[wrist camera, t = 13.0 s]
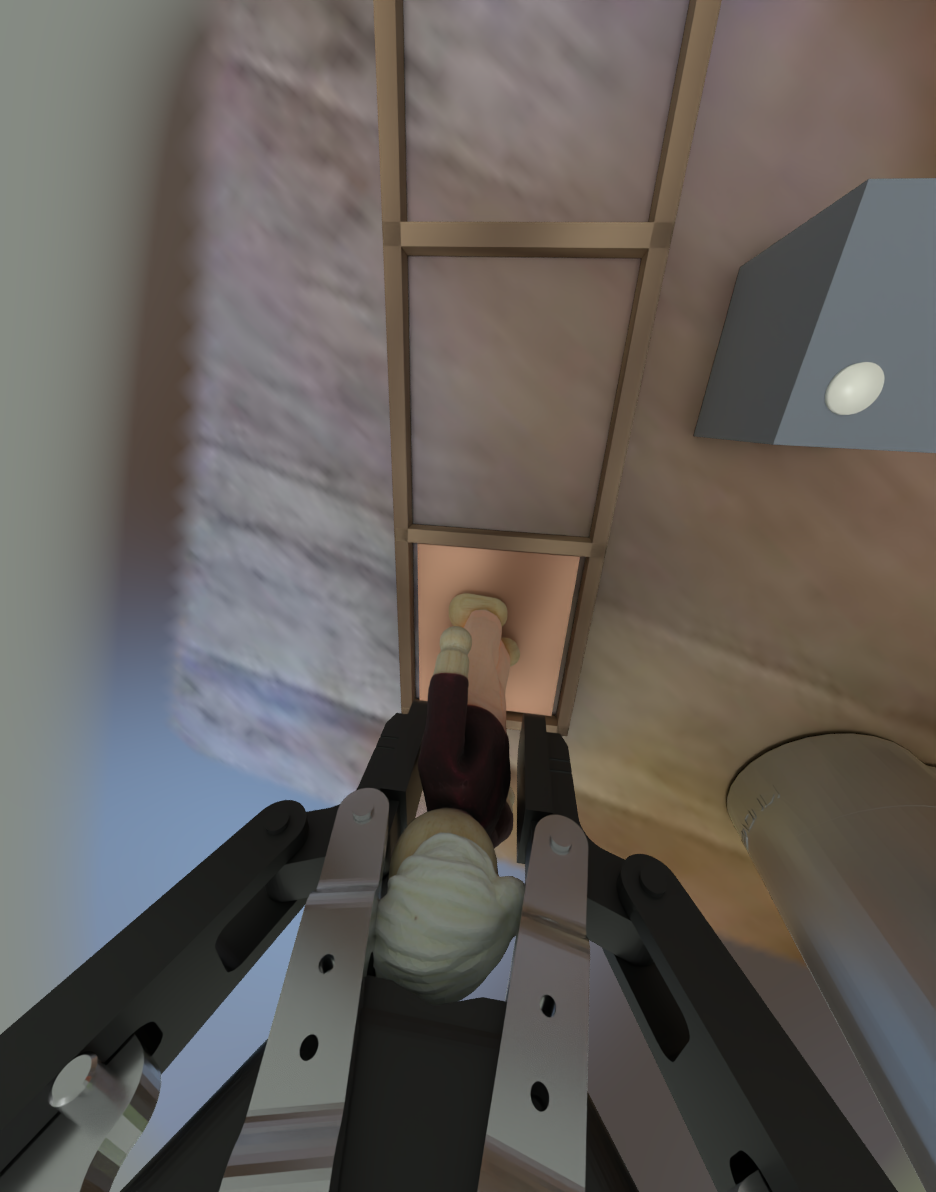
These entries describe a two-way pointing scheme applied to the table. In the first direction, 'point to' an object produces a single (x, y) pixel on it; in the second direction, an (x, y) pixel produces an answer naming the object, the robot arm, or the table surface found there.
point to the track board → (550, 562)
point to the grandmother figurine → (456, 822)
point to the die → (835, 330)
